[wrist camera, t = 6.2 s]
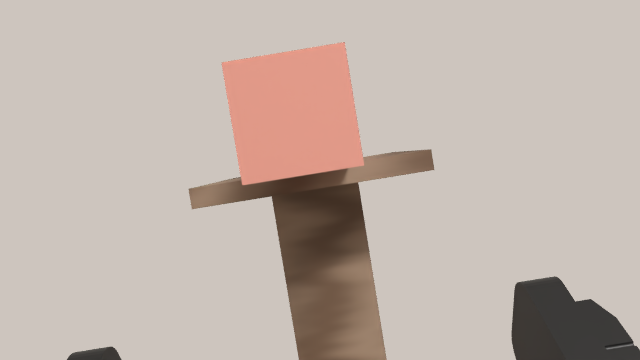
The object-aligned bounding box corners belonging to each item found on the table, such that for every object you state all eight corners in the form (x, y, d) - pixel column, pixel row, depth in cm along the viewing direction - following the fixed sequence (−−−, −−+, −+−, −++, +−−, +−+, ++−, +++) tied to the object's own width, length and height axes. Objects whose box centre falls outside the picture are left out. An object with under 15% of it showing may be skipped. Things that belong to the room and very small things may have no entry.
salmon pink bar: (340, 160, 40) (332, 106, 39) (364, 165, 18) (344, 42, 17) (286, 169, 40) (277, 115, 39) (242, 185, 18) (221, 62, 18)
